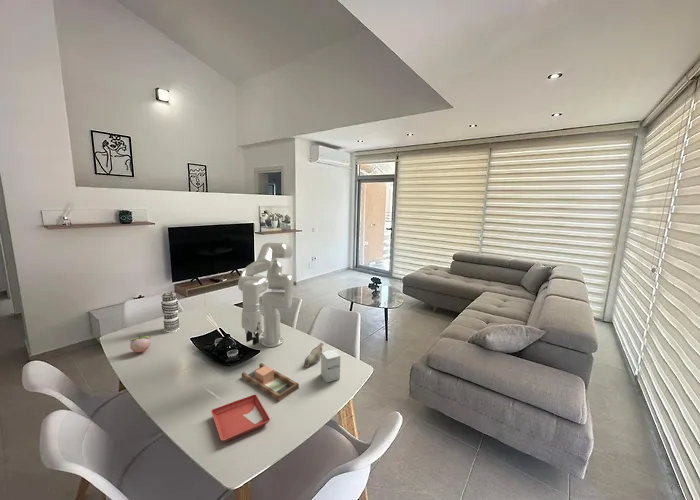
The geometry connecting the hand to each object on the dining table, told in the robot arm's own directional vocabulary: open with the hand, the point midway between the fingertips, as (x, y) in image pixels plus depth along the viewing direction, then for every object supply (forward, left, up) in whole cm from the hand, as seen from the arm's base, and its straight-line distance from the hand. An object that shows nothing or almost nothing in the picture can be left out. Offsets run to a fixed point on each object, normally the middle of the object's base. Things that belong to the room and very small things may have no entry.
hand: (252, 342), depth 144 cm
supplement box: (+31, +22, -18) cm, 42 cm away
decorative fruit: (-65, -26, -18) cm, 72 cm away
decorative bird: (+15, +27, -18) cm, 36 cm away
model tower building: (-82, -3, -18) cm, 84 cm away
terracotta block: (+8, 0, -17) cm, 19 cm away
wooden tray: (+11, 0, -17) cm, 21 cm away
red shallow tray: (+22, -22, -18) cm, 36 cm away
